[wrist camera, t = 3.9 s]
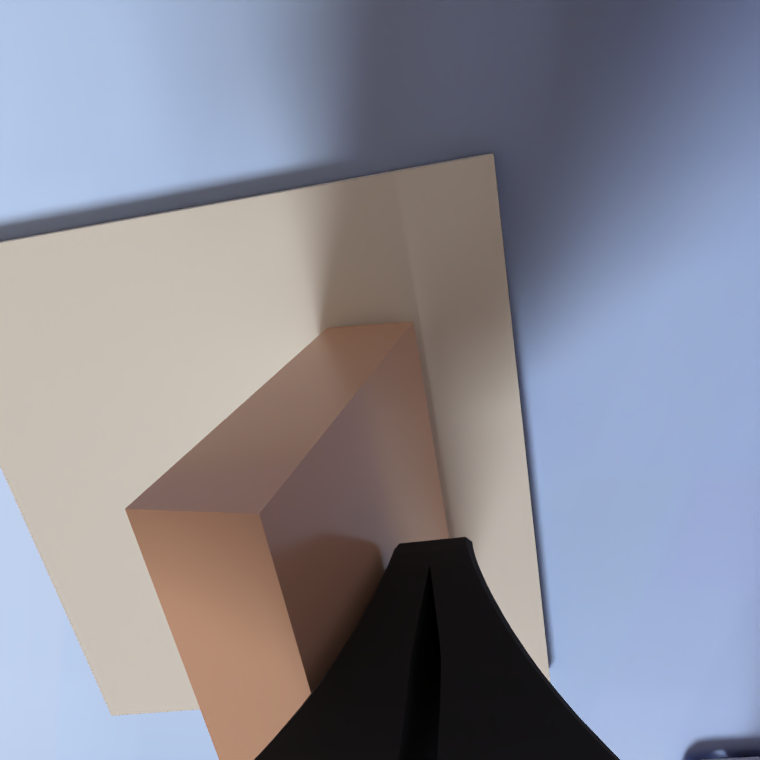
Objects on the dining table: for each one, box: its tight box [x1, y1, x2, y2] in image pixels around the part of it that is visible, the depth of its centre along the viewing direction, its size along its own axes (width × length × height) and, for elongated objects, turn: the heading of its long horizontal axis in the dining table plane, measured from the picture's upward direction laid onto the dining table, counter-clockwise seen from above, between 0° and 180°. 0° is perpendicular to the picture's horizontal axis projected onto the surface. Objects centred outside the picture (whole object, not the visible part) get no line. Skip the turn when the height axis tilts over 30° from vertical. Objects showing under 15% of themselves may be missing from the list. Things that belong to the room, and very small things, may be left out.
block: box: [125, 321, 449, 760], centre depth 13 cm, size 2×8×7 cm, turn 10°
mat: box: [0, 153, 550, 716], centre depth 17 cm, size 13×14×1 cm
